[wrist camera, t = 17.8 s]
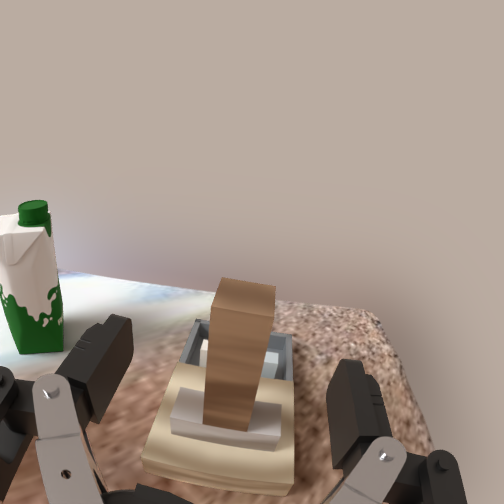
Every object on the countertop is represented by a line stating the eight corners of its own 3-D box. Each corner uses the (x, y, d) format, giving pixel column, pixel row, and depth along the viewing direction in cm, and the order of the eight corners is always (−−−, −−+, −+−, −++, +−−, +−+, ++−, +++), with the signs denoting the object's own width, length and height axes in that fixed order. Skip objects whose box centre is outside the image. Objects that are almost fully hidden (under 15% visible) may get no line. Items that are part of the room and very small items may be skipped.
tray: (287, 397, 37) (292, 382, 36) (178, 379, 38) (178, 362, 36) (287, 349, 46) (291, 334, 45) (195, 334, 47) (196, 318, 45)
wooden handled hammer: (274, 451, 26) (320, 323, 20) (171, 433, 26) (165, 297, 20) (275, 421, 30) (315, 292, 23) (180, 404, 30) (182, 270, 24)
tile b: (278, 363, 37) (278, 353, 39) (245, 358, 37) (246, 348, 39) (272, 385, 38) (272, 374, 40) (241, 380, 39) (242, 370, 40)
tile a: (232, 355, 37) (235, 345, 39) (200, 349, 37) (203, 339, 39) (229, 377, 39) (231, 367, 41) (199, 371, 39) (202, 361, 41)
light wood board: (285, 496, 24) (293, 483, 23) (144, 472, 24) (140, 456, 23) (287, 399, 37) (293, 381, 36) (177, 380, 37) (177, 361, 36)
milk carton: (69, 355, 37) (45, 214, 29) (12, 359, 33) (-24, 220, 25) (68, 318, 44) (54, 193, 36) (19, 322, 39) (-5, 199, 32)
